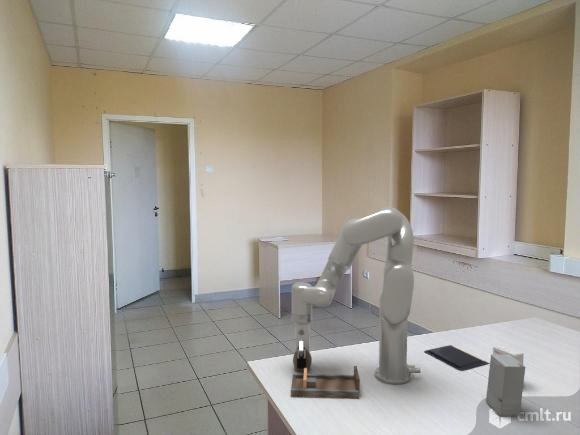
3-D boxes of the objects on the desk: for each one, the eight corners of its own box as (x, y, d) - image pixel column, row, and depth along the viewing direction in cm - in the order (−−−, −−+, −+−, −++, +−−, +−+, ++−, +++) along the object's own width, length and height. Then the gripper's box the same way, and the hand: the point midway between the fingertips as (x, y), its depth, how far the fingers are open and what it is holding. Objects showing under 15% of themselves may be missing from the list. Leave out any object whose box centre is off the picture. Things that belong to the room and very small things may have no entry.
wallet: (422, 348, 174) (451, 342, 180) (422, 352, 174) (451, 346, 180) (459, 368, 156) (491, 361, 162) (459, 373, 156) (490, 365, 162)
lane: (356, 380, 150) (356, 364, 149) (359, 398, 138) (359, 380, 137) (292, 379, 151) (292, 362, 151) (290, 397, 139) (290, 379, 139)
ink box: (523, 386, 145) (525, 352, 144) (513, 390, 143) (515, 355, 141) (500, 376, 153) (502, 343, 151) (491, 379, 150) (492, 346, 149)
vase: (310, 374, 155) (310, 350, 154) (291, 372, 156) (291, 349, 156) (313, 366, 162) (313, 343, 161) (294, 364, 163) (294, 342, 162)
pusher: (315, 378, 149) (315, 368, 149) (315, 391, 140) (315, 380, 140) (304, 378, 149) (304, 368, 149) (303, 391, 141) (303, 380, 140)
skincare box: (485, 402, 135) (487, 353, 134) (507, 401, 136) (509, 352, 134) (500, 417, 127) (502, 365, 125) (523, 416, 127) (526, 364, 126)
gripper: (311, 325, 148) (311, 373, 150) (312, 309, 165) (312, 353, 167) (290, 325, 149) (290, 373, 150) (293, 309, 166) (293, 352, 168)
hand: (302, 362), depth 159 cm, fingers open, 8 cm apart
